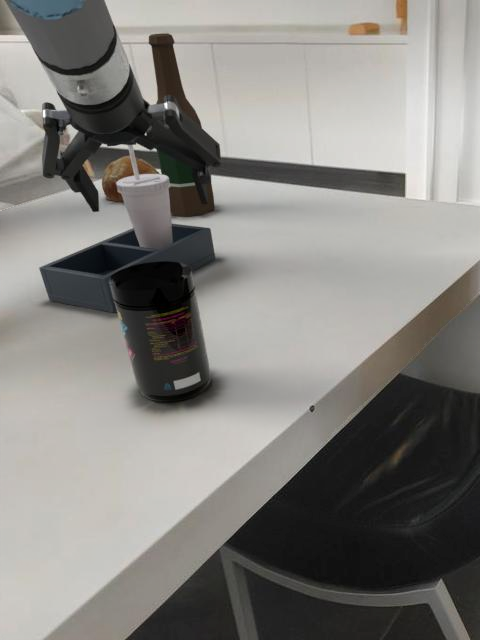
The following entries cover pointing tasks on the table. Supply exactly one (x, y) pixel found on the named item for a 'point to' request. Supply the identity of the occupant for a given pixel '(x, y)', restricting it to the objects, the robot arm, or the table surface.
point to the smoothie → (147, 206)
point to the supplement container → (162, 329)
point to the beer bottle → (169, 83)
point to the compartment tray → (119, 264)
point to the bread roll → (122, 175)
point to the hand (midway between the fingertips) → (150, 198)
